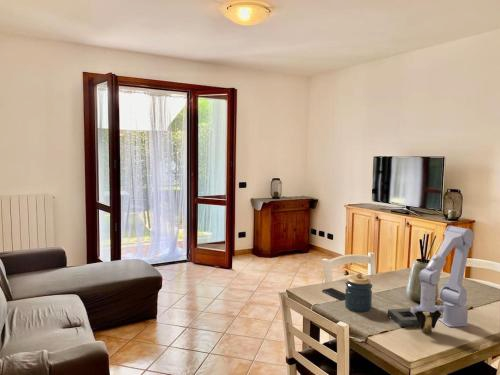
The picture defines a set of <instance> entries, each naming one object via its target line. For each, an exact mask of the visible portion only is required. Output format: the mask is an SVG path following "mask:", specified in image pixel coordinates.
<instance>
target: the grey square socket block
mask: <svg viewBox="0 0 500 375" xmlns="http://www.w3.org/2000/svg"><path fill="white" fill-rule="evenodd" d="M410 310H411V307H410V308H409V307H408V308H394V309H393V308H391V309H387V317H389V318H390V317H391V318H392V319H393V320H394V321H393V320H392V319H391V318H390V319H391V320H392V321H393V322H394V323H395V324H397V323H398V324H399V325H398V324H397V325H398V326H399V327H400V328H406V327H407V328H408V327H409V328H410V327H419V324H418V320H417V317H416V315H415V313H412V312H411V311H410Z"/></svg>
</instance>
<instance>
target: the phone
mask: <svg viewBox="0 0 500 375" xmlns="http://www.w3.org/2000/svg"><path fill="white" fill-rule="evenodd" d="M321 291H322V293H324V294H325V295H328V296H330V297H331V298H333V299H336V300H338V301H345V295H346V292H342V291H340V290H338V289H336V288H334V287H328V288H324V289H322V290H321Z"/></svg>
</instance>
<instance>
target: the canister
mask: <svg viewBox="0 0 500 375" xmlns="http://www.w3.org/2000/svg"><path fill="white" fill-rule="evenodd" d="M346 280H347V281H346V282H345V286H346V287H345V294H346V295H345V299H344V305H345V308H346V309H348V310H349V311H353V312H357V313H366V312H370V311H371V310H372V307H373V306H372V305H373V303H372V302H373V300H372V298H373V291H372V288H373V284H372V283H371V282H372V281H371V279H370V278H368V277H367V276H365V275H362V273H361V272H357V273H356V274H352V275H350V276H348V277H347V278H346Z"/></svg>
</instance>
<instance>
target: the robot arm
mask: <svg viewBox="0 0 500 375" xmlns="http://www.w3.org/2000/svg"><path fill="white" fill-rule="evenodd" d="M443 233H444V234H443V236H444V240H443V241H442V244H441V245H440V248H439V250H438V251H437V253H436V254H433V255H432V257H431V258H430V260H429V261H428V263H427V264H426V267H425V268H422V269H421V270H420V271H419V274H418V280H419V285H420V303H419V305H415V306H410V308H411V310H410V311H411V312H412V313H415V315H416V317H417V320H418V324H419V326H418V328H420V330H421V329H423V327H424V319H425V315H424V314H425V313H428V314H429V315H432V329H435V327H436V324H437V322H438V320H439V322H440V323H441V322H442V323H443V324H444V325H446V326H447V327H449V328H455V327H456V328H457V327H458V328H460V327H469V324H468V313H469V311H468V307H467V306H466V303H467V302H468V301H467V300H468V297H467V293H468V290H467V289H466V288H465V286H463V279H464V276H465V275H464V274H465V270H466V267H467V266H466V264H467V262H468V256H469V251H470V248H472V245H473V241H474V236H475V235H474V232H473V231H472V229H471V228H466V227H465V228H464V227H459V226H454V225H448V226H447V227H446V228H445V231H444V232H443ZM454 248H455V251H454V254H453V260H452V263H451V269H450V274H449V278H448V281H447V282H445V283H443V284H442V285H441V286H442V287H441V289H440V291H439V298H440V300H441V303H443V305H437V304H436V298H437V296H436V293H437V284H438V283H439V282H440V279H441V276H442V275H441V274H442V270H443V269H444V267H445V266H446V263H447V260H446V258H447V257H448V255H450V253H451V251H452V250H453V249H454ZM441 312H442V313H441ZM441 316H442V318H441Z"/></svg>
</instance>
